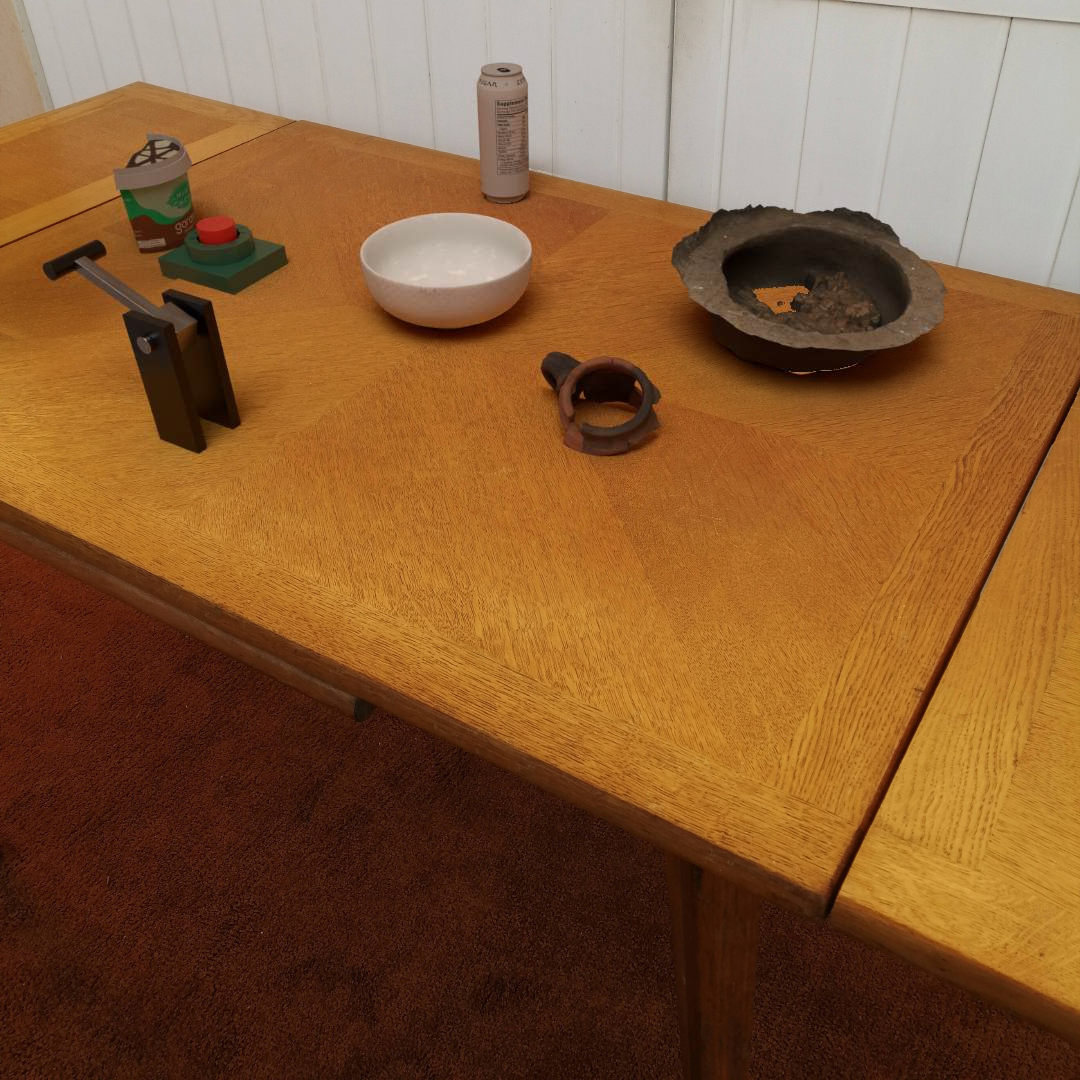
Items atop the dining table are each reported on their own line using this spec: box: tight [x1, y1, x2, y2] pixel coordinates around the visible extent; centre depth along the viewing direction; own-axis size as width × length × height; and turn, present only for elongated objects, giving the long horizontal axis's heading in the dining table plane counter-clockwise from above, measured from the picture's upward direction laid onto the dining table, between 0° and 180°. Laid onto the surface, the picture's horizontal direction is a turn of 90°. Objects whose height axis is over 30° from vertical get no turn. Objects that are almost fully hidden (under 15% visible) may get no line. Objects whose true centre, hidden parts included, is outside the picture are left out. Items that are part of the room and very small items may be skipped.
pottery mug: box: [540, 350, 663, 457], centre depth 84 cm, size 12×10×8 cm
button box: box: [157, 222, 289, 296], centre depth 109 cm, size 10×9×4 cm
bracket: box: [121, 288, 242, 455], centre depth 80 cm, size 11×8×13 cm
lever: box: [42, 239, 197, 352], centre depth 78 cm, size 12×5×2 cm, turn 60°
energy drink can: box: [476, 62, 530, 204], centre depth 121 cm, size 6×6×15 cm
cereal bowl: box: [359, 212, 533, 330], centre depth 100 cm, size 17×17×7 cm
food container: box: [112, 132, 197, 255], centre depth 114 cm, size 12×6×10 cm, turn 179°
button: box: [196, 215, 238, 245], centre depth 107 cm, size 4×4×2 cm
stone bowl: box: [670, 203, 949, 372], centre depth 95 cm, size 25×25×9 cm
